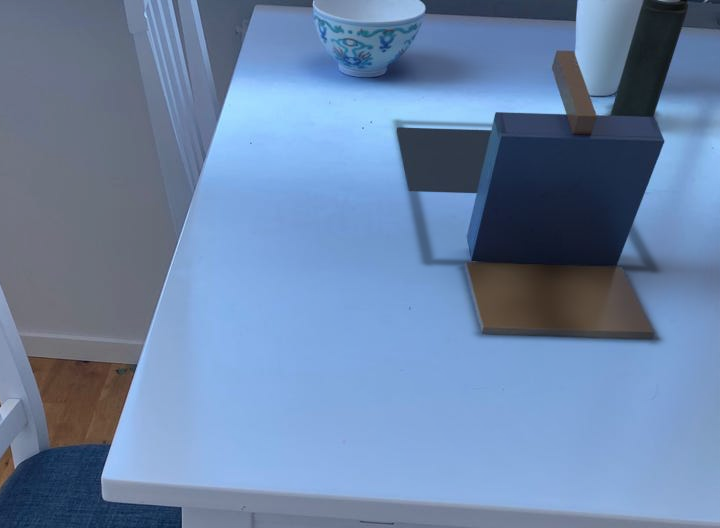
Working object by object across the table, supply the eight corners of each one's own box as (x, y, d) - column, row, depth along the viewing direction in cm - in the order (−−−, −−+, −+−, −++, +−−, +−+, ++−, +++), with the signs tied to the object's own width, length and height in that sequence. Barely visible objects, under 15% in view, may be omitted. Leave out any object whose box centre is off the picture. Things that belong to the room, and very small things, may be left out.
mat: (574, 136, 116) (575, 132, 116) (650, 278, 92) (651, 274, 92) (396, 130, 116) (396, 127, 116) (425, 271, 92) (426, 267, 92)
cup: (646, 101, 124) (684, -20, 114) (571, 104, 123) (603, -18, 113) (613, 74, 131) (646, -43, 121) (542, 76, 130) (569, -41, 120)
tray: (616, 266, 90) (593, 194, 97) (672, 121, 79) (641, 52, 86) (470, 261, 90) (458, 190, 97) (505, 116, 79) (488, 47, 86)
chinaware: (356, 44, 138) (362, -18, 132) (438, 70, 131) (448, 6, 125) (286, 67, 131) (289, 2, 125) (369, 96, 124) (377, 29, 118)
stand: (616, 282, 91) (621, 266, 90) (648, 348, 83) (654, 332, 82) (462, 277, 91) (465, 261, 90) (479, 343, 83) (483, 326, 82)
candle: (648, 132, 117) (729, -123, 98) (606, 126, 118) (679, -127, 100) (652, 118, 120) (731, -131, 102) (611, 112, 121) (682, -135, 103)
